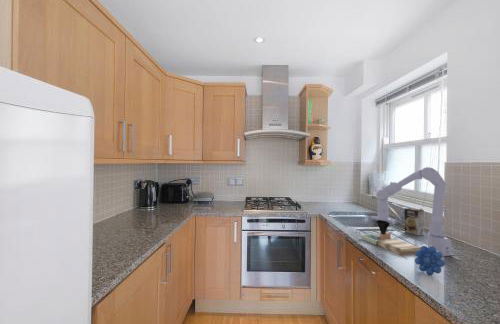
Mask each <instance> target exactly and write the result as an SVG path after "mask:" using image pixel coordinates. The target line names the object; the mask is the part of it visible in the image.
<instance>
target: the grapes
mask: <svg viewBox="0 0 500 324" xmlns="http://www.w3.org/2000/svg"><path fill="white" fill-rule="evenodd" d="M420 247H421V248H420V250H417V251H416V253H415V254H414V255H415V256H416V258H415V259H414V264H416V265H418V269H419V271H421V272H423V273H424V272H425V273H426V274H427V275H429V276H432V275H434V274H440V273H441V272H442V268H443V267H444V266H445V264H446V263H445V261H444V260H443V259H442V258H443V257H444V256H443V255H442V253H441V252H439V251H436V249H435V247H433V246H429V247H428V246H426V245H422V246H420Z"/></svg>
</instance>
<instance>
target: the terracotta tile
mask: <svg viewBox="0 0 500 324" xmlns="http://www.w3.org/2000/svg"><path fill="white" fill-rule="evenodd" d="M379 234H380V240H385V239H391V238H392V237H391V232H388V231H386V234H381V232H379Z"/></svg>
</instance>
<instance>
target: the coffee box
mask: <svg viewBox="0 0 500 324" xmlns="http://www.w3.org/2000/svg"><path fill="white" fill-rule="evenodd" d="M424 211H425V210H424V209H417V208H411V207H409V208H408V207H407V208H404V233H407V234H410V235H415V236H424V214H425V213H424Z"/></svg>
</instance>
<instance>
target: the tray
mask: <svg viewBox="0 0 500 324" xmlns="http://www.w3.org/2000/svg"><path fill="white" fill-rule="evenodd" d="M371 234H372V233H366V234H360V236H359V237H360V238H361V239H360V240H362V239H363V240H362V241H364V240H365V242H367V241H368V242H367V243H369V242H370V243H369V244H371V243H372V245H374V246H378V240H374V239H371ZM391 239H395V238H394V237H391Z"/></svg>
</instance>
